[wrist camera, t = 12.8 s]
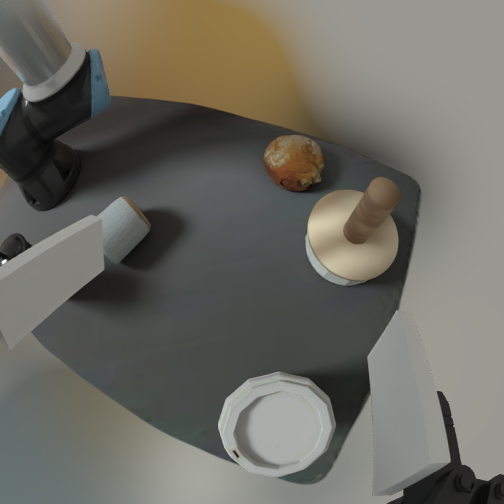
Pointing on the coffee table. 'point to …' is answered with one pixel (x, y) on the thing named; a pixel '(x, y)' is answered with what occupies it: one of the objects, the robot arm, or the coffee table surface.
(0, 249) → the drinking cup
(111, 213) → the ceramic mug
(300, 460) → the disposable coffee cup
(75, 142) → the coffee table surface
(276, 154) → the bread roll
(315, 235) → the lid
